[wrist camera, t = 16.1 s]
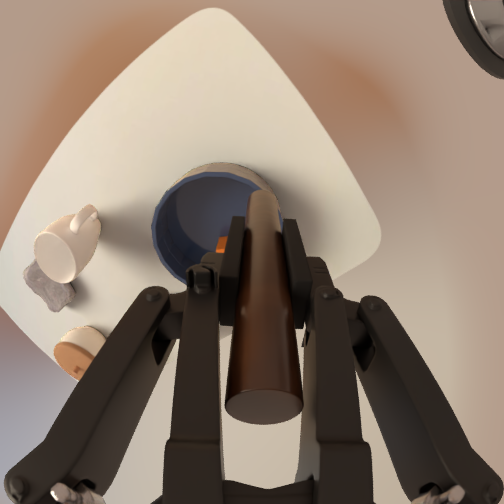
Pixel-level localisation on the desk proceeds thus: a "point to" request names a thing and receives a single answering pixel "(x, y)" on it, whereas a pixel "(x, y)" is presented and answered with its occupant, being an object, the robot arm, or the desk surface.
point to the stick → (263, 325)
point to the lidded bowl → (78, 350)
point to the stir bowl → (201, 213)
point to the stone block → (48, 287)
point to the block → (221, 244)
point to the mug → (68, 244)
